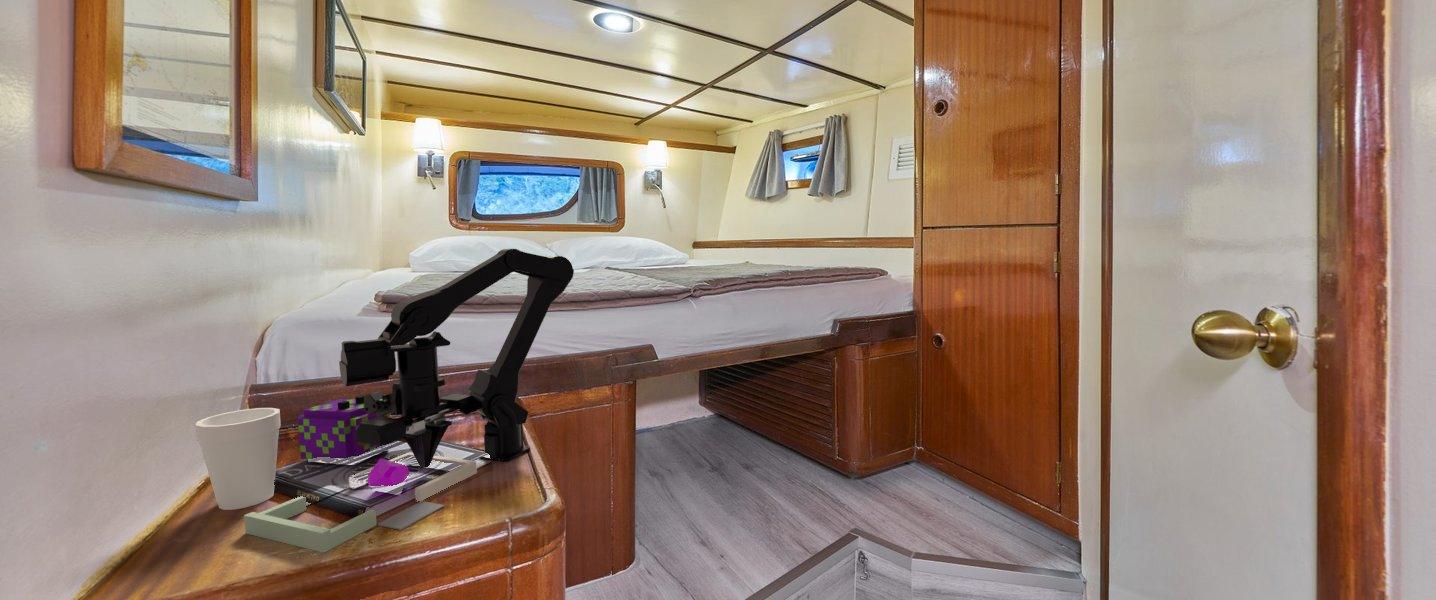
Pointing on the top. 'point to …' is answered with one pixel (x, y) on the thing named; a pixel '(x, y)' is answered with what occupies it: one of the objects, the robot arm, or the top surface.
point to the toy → (334, 429)
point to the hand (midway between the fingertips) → (424, 467)
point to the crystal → (387, 473)
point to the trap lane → (324, 539)
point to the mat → (410, 515)
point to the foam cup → (241, 455)
